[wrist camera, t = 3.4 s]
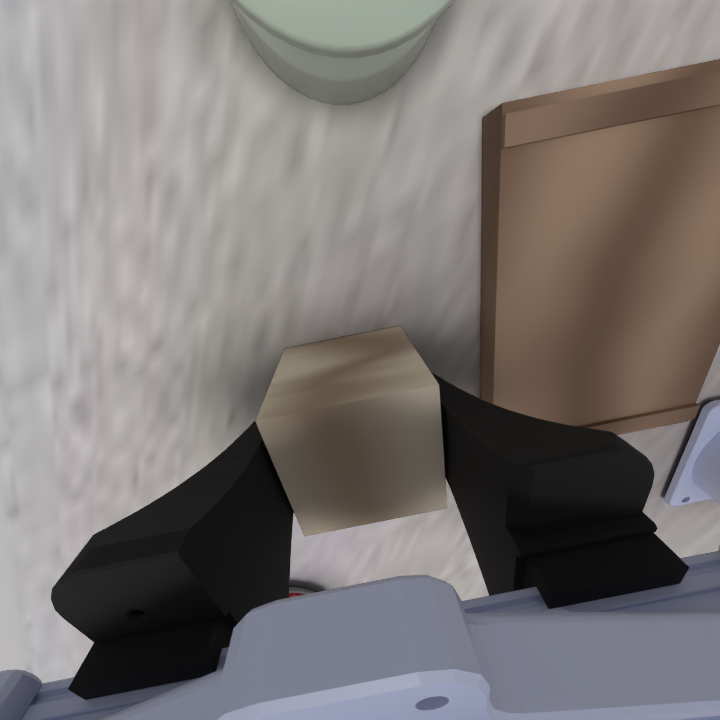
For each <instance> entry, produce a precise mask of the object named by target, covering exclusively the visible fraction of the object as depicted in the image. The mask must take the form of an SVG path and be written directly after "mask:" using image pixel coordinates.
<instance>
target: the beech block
mask: <svg viewBox="0 0 720 720" xmlns="http://www.w3.org/2000/svg"><path fill="white" fill-rule="evenodd" d="M255 422H256V424H257V427H258V429H259V431H260V434H261V436H262V438H263V441H264V443H265V445H266V448H267V450H268V452H269V455H270V457H271V459H272V462H273V464H274V466H275V469H276V471H277V473H278V476H279V478H280V480H281V483H282V485H283V488H284V490H285V492H286V495H287V497H288V499H289V502H290V504H291V506H292V509H293V511H294V513H295V516H296V518H297V520H298V523H299V525H300V527H301V530H302V532H303V534H304V536H309V535H314V534H319V533H324V532H329V531H335V530H340V529H345V528H350V527H355V526H360V525H365V524H370V523H375V522H380V521H385V520H390V519H395V518H400V517H406V516H411V515H416V514H421V513H426V512H431V511H436V510H441V509H446V508H447V495H446V480H445V465H444V451H443V436H442V421H441V406H440V391H439V384H438V382H437V381H436V379H435V378H434V376H433V375H432V373H431V372H430V370H429V369H428V367H427V366H426V364H425V363H424V361H423V360H422V358H421V357H420V355H419V354H418V352H417V351H416V349H415V348H414V346H413V345H412V343H411V342H410V340H409V339H408V337H407V335H406V334H405V332H404V331H403V329H402V328H401V326H395V327H390V328H385V329H380V330H375V331H370V332H365V333H360V334H355V335H350V336H345V337H340V338H335V339H330V340H325V341H320V342H315V343H310V344H305V345H300V346H295V347H290V348H285V349H284V352H283V354H282V357H281V359H280V361H279V364H278V366H277V369H276V371H275V374H274V376H273V379H272V381H271V384H270V386H269V389H268V391H267V393H266V396H265V398H264V401H263V403H262V406H261V408H260V411H259V413H258V416H257V418H256V421H255Z"/></svg>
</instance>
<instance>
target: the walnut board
mask: <svg viewBox="0 0 720 720" xmlns="http://www.w3.org/2000/svg"><path fill="white" fill-rule="evenodd" d="M719 344H720V59H718V60H714V61H709V62H704V63H699V64H694V65H689V66H684V67H679V68H674V69H669V70H664V71H659V72H654V73H649V74H644V75H639V76H634V77H629V78H624V79H619V80H614V81H609V82H605V83H600V84H595V85H590V86H585V87H580V88H575V89H570V90H565V91H560V92H555V93H550V94H545V95H540V96H535V97H530V98H525V99H520V100H515V101H510V102H505V103H502V104H500V105H499V106H498V107H496V108H495V109H494V110H492V111H491V112H490V113H488V114H487V115H486V116H484V117H483V142H482V276H481V400H484V401H486V402H489V403H491V404H494V405H497V406H499V407H502V408H505V409H508V410H511V411H514V412H517V413H521V414H524V415H527V416H531V417H535V418H539V419H543V420H547V421H552V422H556V423H561V424H566V425H571V426H577V427H584V428H590V429H597V430H604V431H610V432H613V433H615V434H616V435H620V434H625V433H630V432H635V431H640V430H646V429H651V428H656V427H661V426H666V425H671V424H676V423H681V422H686V421H688V420H691V419H695V417H696V415H697V412H698V410H699V407H700V405H699V404H696V401H697V398H698V396H699V393H700V391H701V388H702V386H703V383H704V381H705V378H706V376H707V374H708V371H709V369H710V366H711V364H712V361H713V359H714V356H715V354H716V351H717V349H718V347H719Z"/></svg>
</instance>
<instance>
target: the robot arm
mask: <svg viewBox="0 0 720 720" xmlns="http://www.w3.org/2000/svg"><path fill="white" fill-rule="evenodd" d="M431 373H432V372H431ZM432 375H433V376H434V378H435V379H436V381H437V382H438V384H439V391H440V406H441V421H442V436H443V451H444V465H445V477H446V479H447V481H448V484H449V486H450V488H451V491H452V493H453V496H454V499H455V501H456V504H457V506H458V509H459V512H460V514H461V517H462V520H463V522H464V525H465V528H466V530H467V533H468V536H469V538H470V541H471V544H472V547H473V550H474V553H475V555H476V558H477V561H478V564H479V567H480V569H481V572H482V575H483V578H484V581H485V584H486V587H487V590H488V593H489V596H486V597H481V598H476V599H471V600H466V601H461V599H460V597H459V596H458V594H457V592H456V591H455V589H454V587H453V586H452V585H451V584H449V583H447V582H445V581H443V580H440V579H437V578H434V577H431V576H428V575H411V576H397V577H392V578H387V579H382V580H377V581H372V582H367V583H362V584H357V585H352V586H347V587H341V588H336V589H331V590H326V591H321V592H316V593H311V594H306V595H301V596H296V597H291V598H289V579H290V556H291V538H292V523H293V513H294V511H293V509H292V506H291V504H290V502H289V499H288V497H287V495H286V492H285V490H284V488H283V485H282V483H281V480H280V478H279V476H278V473H277V471H276V469H275V466H274V464H273V462H272V459H271V457H270V455H269V452H268V450H267V448H266V445H265V443H264V441H263V438H262V436H261V434H260V431H259V429H258V427H257V424H256V422H255V421H256V420H255V421H254V422H253V423H252V424H251V426H250V427H249V428H248V429H247V430H246V431H245V432H244V433H243V434H242V435H240V436H239V437H238V438H237V439H236V440H235V441H234V442H233V443H232V444H231V445H230V446H229V447H228V448H227V449H226V450H225V451H223V452H222V453H221V454H220V455H219V456H218V457H216V458H215V459H214V460H213V461H211V462H210V463H209V464H208V465H206V466H205V467H204V468H203V469H201V470H200V471H198V472H197V473H196V474H194V475H193V476H191V477H190V478H189V479H187V480H186V481H184V482H183V483H182V484H180V485H179V486H177V487H176V488H174V489H173V490H171V491H170V492H168V493H167V494H165V495H163V496H162V497H160V498H159V499H157V500H155V501H154V502H152V503H150V504H149V505H147V506H145V507H144V508H142V509H140V510H139V511H137V512H135V513H133V514H131V515H130V516H128V517H126V518H124V519H122V520H120V521H118V522H117V523H115V524H113V525H111V526H109V527H107V528H106V529H104V530H102V531H100V532H98V533H96V534H94V535H93V536H92V537H91V539H90V540H89V541H88V543H87V544H86V545H85V547H84V548H83V549H82V550H81V552H80V553H79V554H78V556H77V557H76V558H75V560H74V561H73V562H72V563H71V565H70V566H69V567H68V569H67V570H66V571H65V573H64V574H63V575H62V576H61V578H60V579H59V580H58V582H57V583H56V584H55V586H54V587H53V588H52V594H51V600H52V603H53V606H54V608H55V610H56V611H57V612H58V613H59V614H60V615H61V616H62V617H63V618H64V619H65V620H66V621H68V622H69V623H70V624H71V625H73V626H74V627H75V628H77V629H78V630H79V631H80V632H82V633H83V634H84V635H86V636H87V637H88V638H89V639H91V640H92V641H93V642H94V644H93V646H92V648H91V649H90V651H89V653H88V655H87V656H86V658H85V660H84V662H83V663H82V665H81V667H80V668H79V670H78V672H77V674H76V675H75V677H73V678H68V679H63V680H58V681H53V682H48V683H43V684H42V682H41V680H40V679H39V678H38V677H36V676H35V675H33V674H32V673H29V672H27V671H23V670H6V671H1V672H0V720H720V546H719V551H716V552H711V553H705V554H700V555H695V556H690V557H685V558H679V557H678V556H677V555H676V554H675V553H674V552H673V551H672V550H671V549H670V548H669V547H668V546H667V545H666V544H665V543H664V542H663V541H661V540H660V539H659V538H658V537H657V536H656V535H655V534H654V533H653V532H656V530H657V527H656V524H655V523H654V522H653V521H652V520H651V519H650V518H648V517H647V516H646V515H645V514H644V513H643V512H642V511H643V508H644V506H645V503H646V501H647V498H648V495H649V493H650V490H651V488H652V484H653V479H654V470H653V466H652V463H651V462H650V461H649V460H648V458H647V457H646V456H645V455H643V454H642V453H640V452H639V451H638V450H636V449H635V448H634V447H632V446H631V445H630V444H628V443H627V442H626V441H624V440H623V439H622V438H620V437H619V436H617V435H616V434H615V433H613V432H610V431H604V430H597V429H590V428H584V427H577V426H571V425H566V424H561V423H556V422H552V421H547V420H543V419H539V418H535V417H531V416H527V415H524V414H521V413H517V412H514V411H511V410H508V409H505V408H502V407H499V406H497V405H494V404H491V403H489V402H486V401H484V400H481V399H479V398H477V397H475V396H473V395H471V394H469V393H467V392H465V391H463V390H461V389H459V388H457V387H455V386H454V385H452V384H450V383H448V382H447V381H445V380H443V379H442V378H440V377H438V376H437V375H435V374H433V373H432ZM710 499H714V500H716V501H717V502H718V503H720V400H716V401H712V402H709V403H707V404H706V405H705V406H704V407H703V408H702V410H701V413H700V415H699V417H698V420H697V422H696V424H695V427H694V429H693V431H692V434H691V436H690V438H689V441H688V443H687V446H686V448H685V450H684V453H683V455H682V457H681V460H680V462H679V464H678V467H677V469H676V471H675V474H674V476H673V479H672V481H671V483H670V486H669V488H668V490H667V493H666V495H665V498H664V500H665V502H667V503H668V504H669V505H670V506H679V505H684V504H689V503H694V502H699V501H704V500H710Z"/></svg>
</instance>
